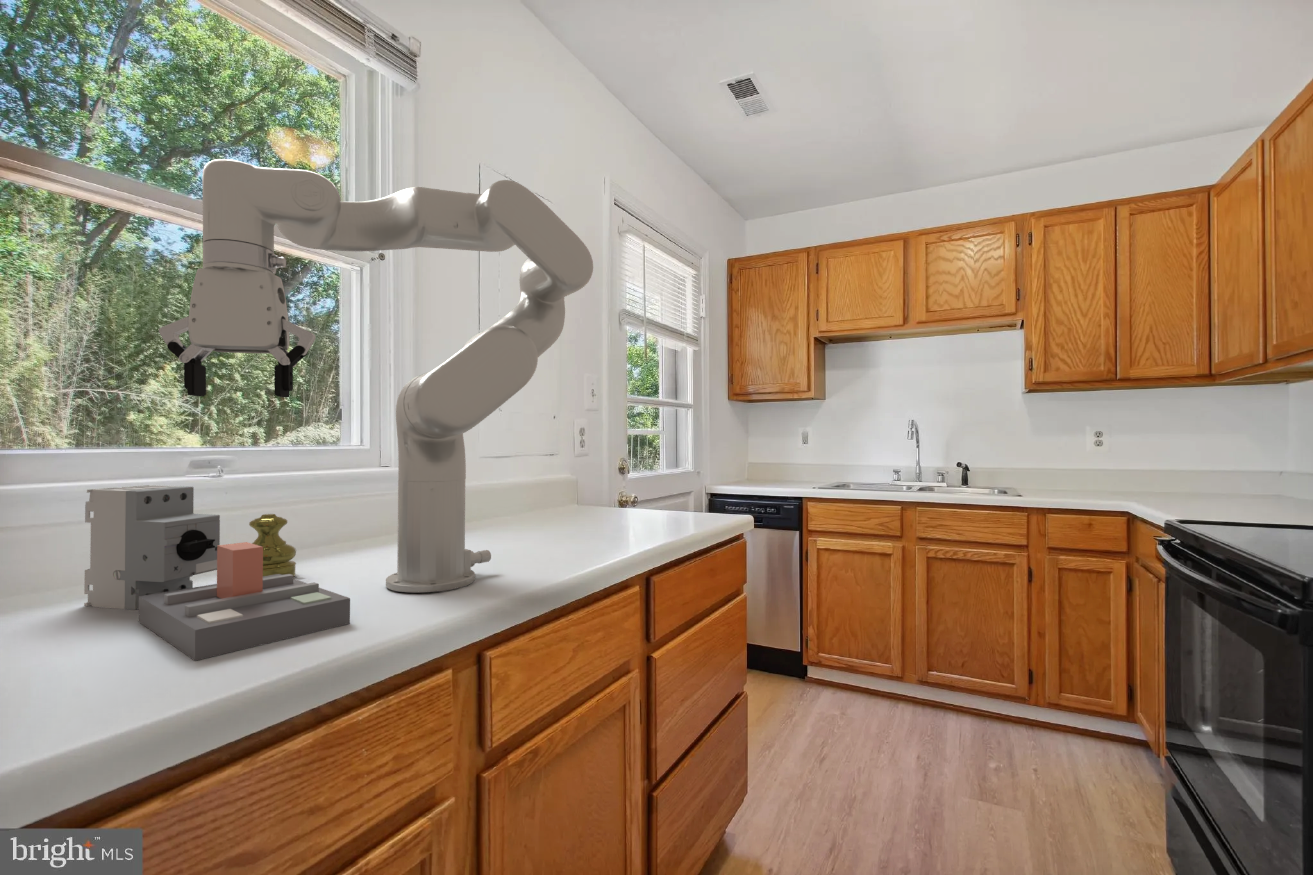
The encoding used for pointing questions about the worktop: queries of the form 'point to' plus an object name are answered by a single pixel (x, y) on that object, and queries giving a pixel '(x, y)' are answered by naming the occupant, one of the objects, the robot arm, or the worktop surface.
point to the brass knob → (273, 545)
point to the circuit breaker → (146, 543)
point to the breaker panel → (241, 615)
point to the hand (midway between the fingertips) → (240, 396)
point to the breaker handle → (239, 569)
